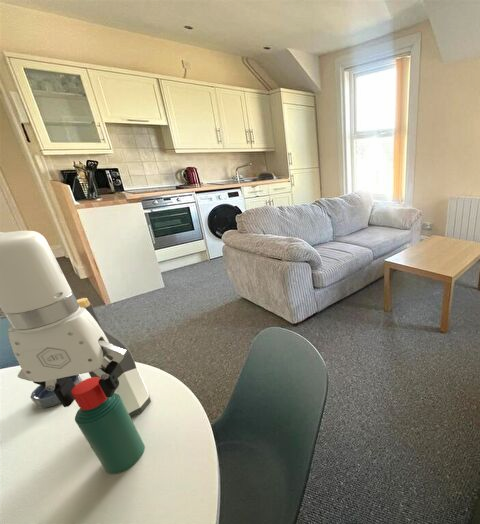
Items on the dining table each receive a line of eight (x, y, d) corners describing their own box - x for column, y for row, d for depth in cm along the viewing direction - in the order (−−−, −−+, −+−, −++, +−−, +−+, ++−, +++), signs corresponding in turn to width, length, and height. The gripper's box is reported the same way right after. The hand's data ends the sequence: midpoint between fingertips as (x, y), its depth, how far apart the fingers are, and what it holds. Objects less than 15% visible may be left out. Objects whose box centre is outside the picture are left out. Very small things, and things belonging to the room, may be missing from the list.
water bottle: (98, 478, 54) (52, 407, 47) (114, 446, 60) (76, 378, 53) (137, 468, 56) (99, 397, 48) (149, 437, 62) (117, 370, 54)
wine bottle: (139, 389, 74) (93, 287, 63) (159, 399, 71) (114, 294, 59) (104, 414, 68) (45, 306, 56) (124, 426, 64) (65, 314, 53)
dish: (26, 413, 69) (20, 404, 68) (51, 385, 77) (46, 376, 76) (70, 403, 71) (65, 394, 70) (90, 377, 79) (86, 369, 78)
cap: (75, 413, 50) (65, 397, 48) (87, 395, 53) (79, 379, 52) (101, 407, 50) (93, 391, 49) (112, 389, 54) (104, 374, 53)
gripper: (-49, 336, 39) (19, 427, 46) (96, 312, 43) (138, 399, 50) (-3, 308, 46) (50, 391, 53) (119, 290, 49) (153, 369, 57)
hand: (92, 395), depth 51 cm, fingers open, 5 cm apart
